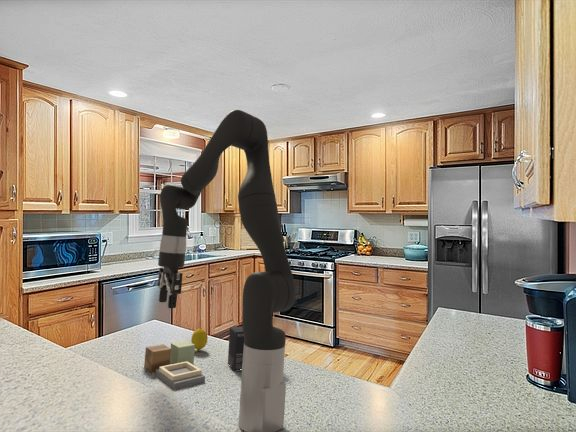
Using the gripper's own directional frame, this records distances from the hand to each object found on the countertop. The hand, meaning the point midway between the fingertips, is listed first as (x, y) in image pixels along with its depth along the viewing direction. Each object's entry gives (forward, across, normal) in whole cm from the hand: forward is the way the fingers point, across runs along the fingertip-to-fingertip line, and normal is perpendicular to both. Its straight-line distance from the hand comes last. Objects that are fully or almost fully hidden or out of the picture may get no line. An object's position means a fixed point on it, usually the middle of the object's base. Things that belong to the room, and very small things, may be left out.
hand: (167, 304), depth 106 cm
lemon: (+20, +12, -17) cm, 29 cm away
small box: (+19, -9, -26) cm, 33 cm away
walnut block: (+19, +2, 0) cm, 20 cm away
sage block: (+19, +3, -8) cm, 21 cm away
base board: (+19, -9, -3) cm, 21 cm away
